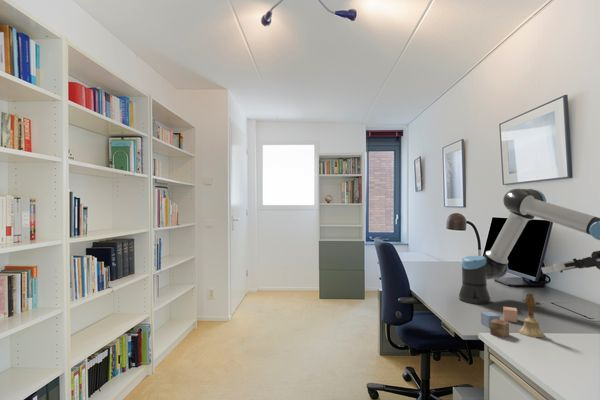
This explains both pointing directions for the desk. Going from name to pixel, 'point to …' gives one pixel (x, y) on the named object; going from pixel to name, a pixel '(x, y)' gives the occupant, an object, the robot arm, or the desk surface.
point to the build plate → (526, 299)
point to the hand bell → (531, 321)
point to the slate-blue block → (488, 318)
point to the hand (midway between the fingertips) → (548, 269)
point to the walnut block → (499, 328)
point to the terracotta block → (510, 314)
